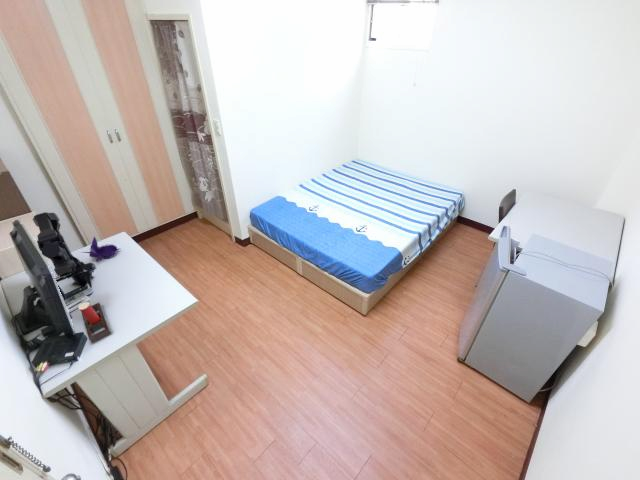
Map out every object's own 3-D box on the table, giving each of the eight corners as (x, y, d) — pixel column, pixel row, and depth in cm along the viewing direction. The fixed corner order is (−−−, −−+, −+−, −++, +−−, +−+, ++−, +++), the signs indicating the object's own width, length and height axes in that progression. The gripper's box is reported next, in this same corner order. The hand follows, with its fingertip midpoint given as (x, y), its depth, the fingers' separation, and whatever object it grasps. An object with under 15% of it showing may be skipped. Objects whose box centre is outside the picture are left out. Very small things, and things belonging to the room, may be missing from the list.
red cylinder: (90, 325, 128) (76, 307, 120) (98, 319, 130) (85, 301, 123) (96, 328, 127) (82, 310, 119) (104, 321, 129) (91, 304, 121)
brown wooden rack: (83, 314, 132) (80, 310, 130) (101, 306, 136) (99, 302, 134) (92, 343, 121) (89, 339, 119) (111, 333, 125) (108, 329, 123)
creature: (85, 257, 162) (74, 240, 155) (122, 246, 170) (113, 230, 162) (85, 266, 157) (74, 249, 149) (123, 255, 164) (114, 238, 157)
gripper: (26, 268, 112) (45, 303, 113) (82, 248, 122) (100, 280, 123) (36, 271, 122) (54, 304, 122) (88, 252, 132) (104, 283, 132)
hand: (78, 292), depth 125 cm, fingers open, 9 cm apart
